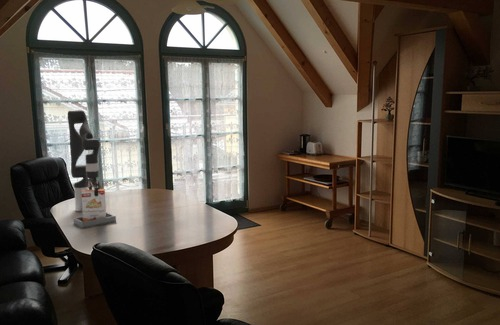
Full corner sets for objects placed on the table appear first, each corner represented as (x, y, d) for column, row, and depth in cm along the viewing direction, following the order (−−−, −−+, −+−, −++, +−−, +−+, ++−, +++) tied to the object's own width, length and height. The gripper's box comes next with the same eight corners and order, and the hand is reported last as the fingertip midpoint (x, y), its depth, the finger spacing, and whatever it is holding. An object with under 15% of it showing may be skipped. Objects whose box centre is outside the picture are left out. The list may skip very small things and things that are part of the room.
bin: (73, 224, 267) (73, 218, 267) (106, 217, 282) (106, 212, 282) (82, 228, 257) (82, 222, 257) (115, 221, 272) (115, 215, 272)
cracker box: (83, 223, 265) (81, 191, 262) (83, 221, 270) (81, 189, 268) (106, 221, 269) (104, 190, 266) (106, 219, 275) (104, 188, 272)
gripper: (81, 169, 268) (83, 194, 270) (91, 172, 257) (92, 197, 260) (93, 168, 273) (94, 192, 275) (102, 170, 263) (104, 195, 265)
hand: (93, 194), depth 267 cm, fingers open, 8 cm apart
